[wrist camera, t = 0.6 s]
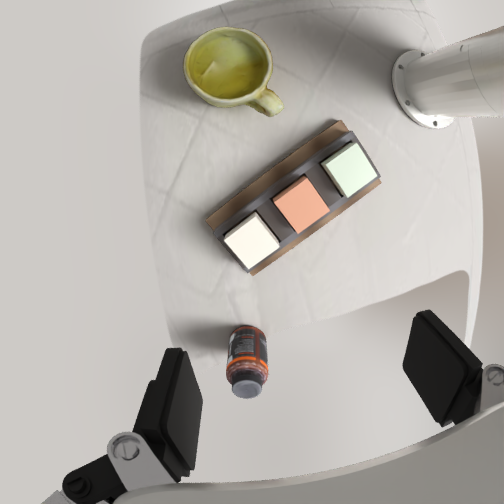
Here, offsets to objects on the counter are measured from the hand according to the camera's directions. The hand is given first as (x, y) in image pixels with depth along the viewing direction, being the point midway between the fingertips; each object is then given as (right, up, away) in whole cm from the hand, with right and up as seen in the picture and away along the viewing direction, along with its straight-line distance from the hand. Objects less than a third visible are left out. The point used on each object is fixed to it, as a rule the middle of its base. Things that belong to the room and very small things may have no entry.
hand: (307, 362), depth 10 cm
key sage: (+9, +14, +21) cm, 27 cm away
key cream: (-2, +6, +24) cm, 25 cm away
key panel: (+4, +11, +26) cm, 29 cm away
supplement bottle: (-3, -10, +34) cm, 36 cm away
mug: (-4, +25, +21) cm, 33 cm away
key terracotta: (+4, +10, +23) cm, 25 cm away
